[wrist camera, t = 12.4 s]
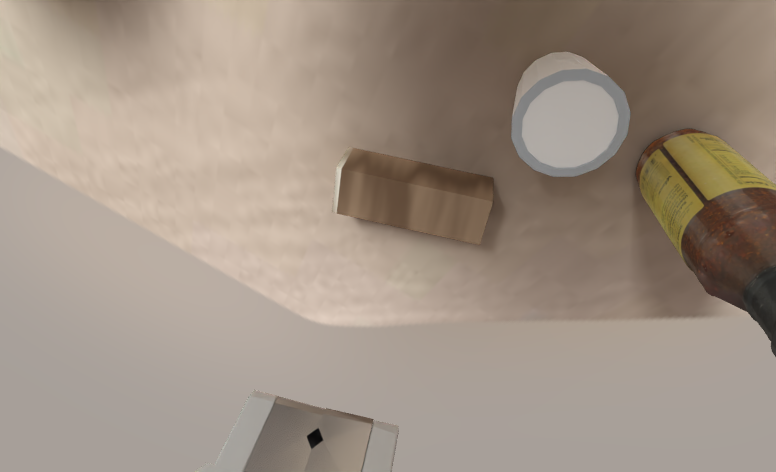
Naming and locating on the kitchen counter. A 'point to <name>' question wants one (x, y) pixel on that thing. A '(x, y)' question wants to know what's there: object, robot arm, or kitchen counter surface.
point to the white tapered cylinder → (568, 116)
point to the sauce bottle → (716, 218)
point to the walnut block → (413, 195)
